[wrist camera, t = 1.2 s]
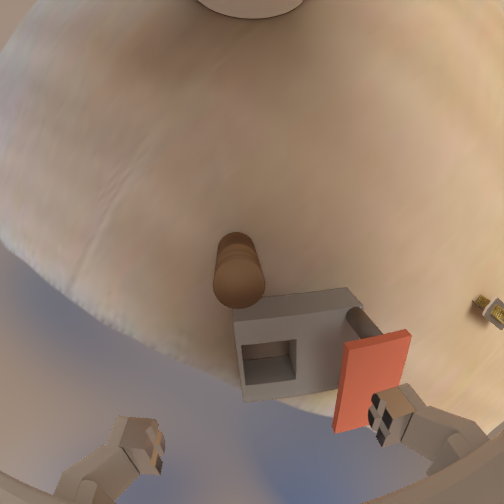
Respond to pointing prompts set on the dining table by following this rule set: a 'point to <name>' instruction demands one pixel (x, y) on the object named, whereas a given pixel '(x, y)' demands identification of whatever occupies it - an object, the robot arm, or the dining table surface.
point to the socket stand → (319, 352)
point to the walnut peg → (238, 272)
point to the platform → (492, 306)
